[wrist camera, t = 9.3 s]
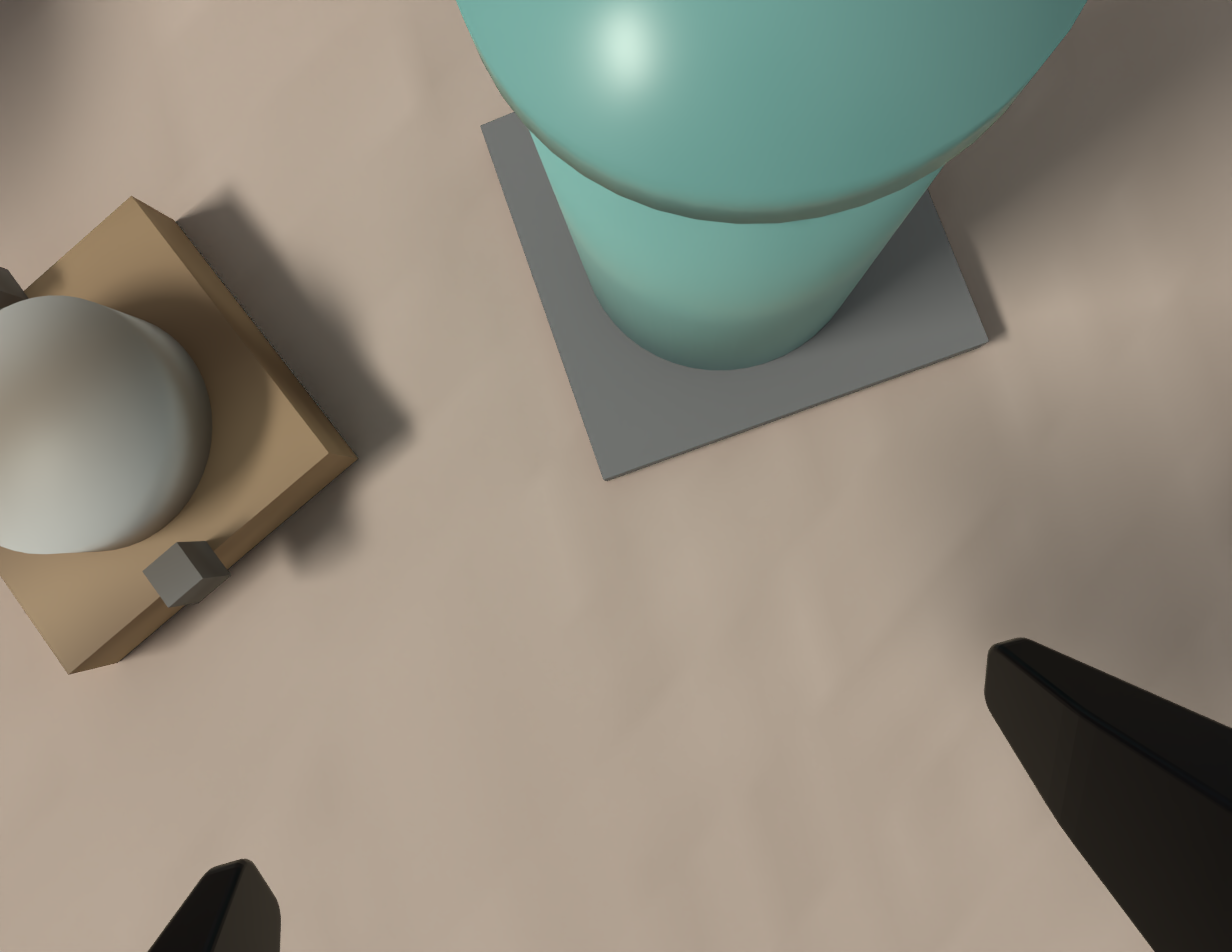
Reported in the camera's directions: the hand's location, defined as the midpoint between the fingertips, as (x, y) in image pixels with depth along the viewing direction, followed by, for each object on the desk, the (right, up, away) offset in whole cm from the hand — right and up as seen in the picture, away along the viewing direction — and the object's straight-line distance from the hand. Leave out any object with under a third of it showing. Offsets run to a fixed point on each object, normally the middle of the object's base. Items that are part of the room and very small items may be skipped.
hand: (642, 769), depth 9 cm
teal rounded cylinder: (+2, +9, +8) cm, 13 cm away
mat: (+2, +9, +9) cm, 13 cm away
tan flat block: (-12, +4, +10) cm, 17 cm away
